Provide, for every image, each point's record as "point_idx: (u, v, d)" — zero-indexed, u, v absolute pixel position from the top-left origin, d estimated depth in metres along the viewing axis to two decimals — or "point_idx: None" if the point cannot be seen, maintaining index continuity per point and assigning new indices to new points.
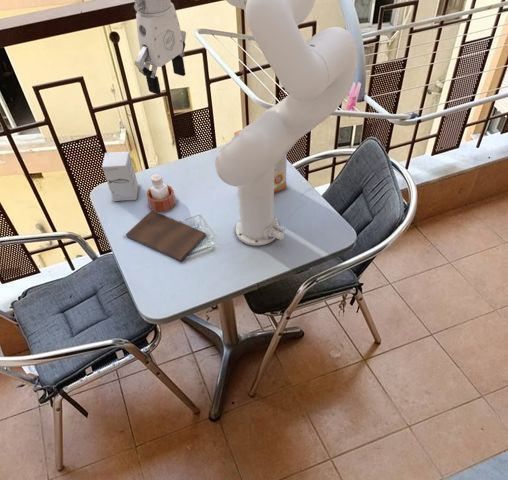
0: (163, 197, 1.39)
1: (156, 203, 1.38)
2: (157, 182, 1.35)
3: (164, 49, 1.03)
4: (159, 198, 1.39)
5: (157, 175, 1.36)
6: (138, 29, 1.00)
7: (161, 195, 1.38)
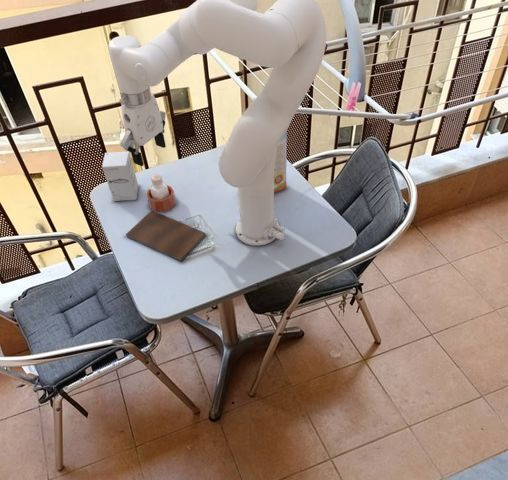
0: (163, 197, 1.39)
1: (156, 203, 1.38)
2: (157, 182, 1.35)
3: (146, 131, 1.20)
4: (159, 198, 1.39)
5: (157, 175, 1.36)
6: (123, 116, 1.17)
7: (161, 195, 1.38)
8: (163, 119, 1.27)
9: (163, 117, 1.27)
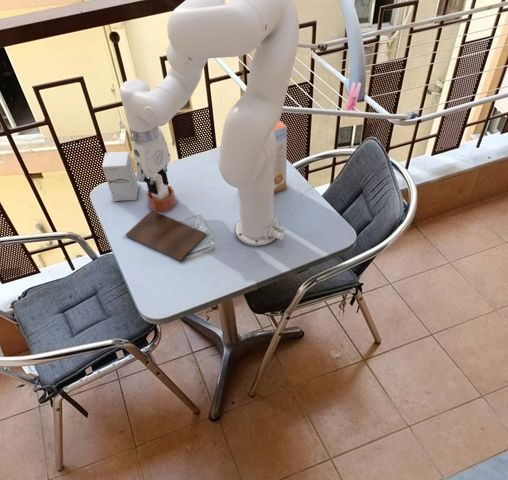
0: (163, 197, 1.39)
1: (156, 203, 1.38)
2: (157, 182, 1.35)
3: (154, 164, 1.28)
4: (159, 198, 1.39)
5: (157, 175, 1.36)
6: (133, 151, 1.25)
7: (161, 195, 1.38)
8: None
9: None
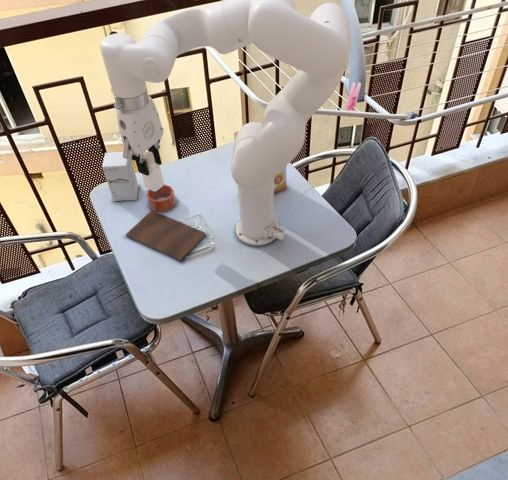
0: (155, 179, 1.20)
1: (156, 203, 1.38)
2: (148, 161, 1.16)
3: (144, 139, 1.09)
4: (150, 180, 1.20)
5: (148, 153, 1.17)
6: (119, 123, 1.06)
7: (153, 176, 1.19)
8: None
9: None
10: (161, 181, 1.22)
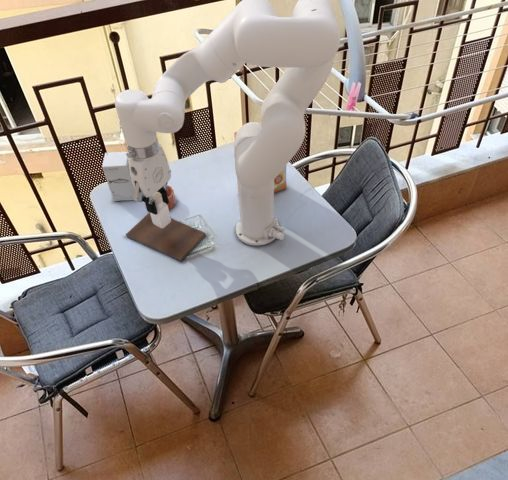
0: (163, 217, 1.27)
1: None
2: (156, 201, 1.23)
3: (153, 183, 1.16)
4: (158, 218, 1.26)
5: (156, 193, 1.23)
6: (130, 169, 1.13)
7: (161, 215, 1.26)
8: None
9: None
10: (168, 218, 1.29)
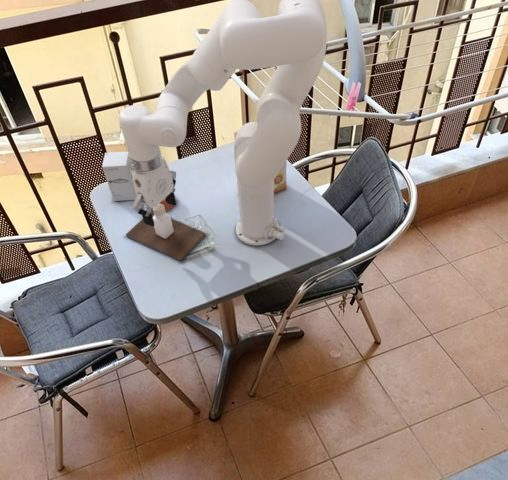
0: (166, 228, 1.30)
1: None
2: (159, 213, 1.26)
3: (157, 194, 1.19)
4: (161, 229, 1.29)
5: (159, 205, 1.26)
6: (134, 181, 1.15)
7: (164, 226, 1.29)
8: (174, 178, 1.26)
9: (174, 176, 1.25)
10: (171, 229, 1.32)
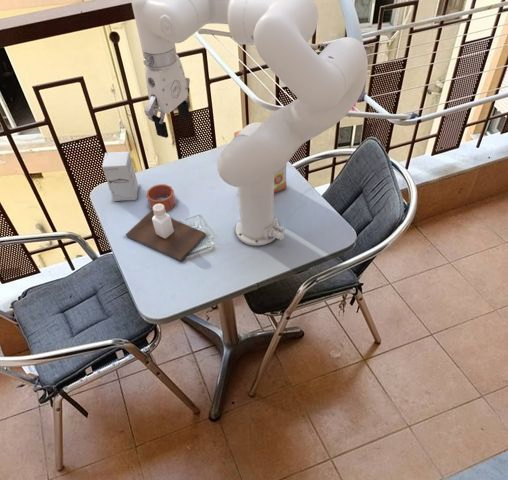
0: (166, 228, 1.30)
1: (156, 203, 1.38)
2: (159, 213, 1.26)
3: (171, 97, 1.10)
4: (161, 229, 1.29)
5: (159, 205, 1.26)
6: (147, 81, 1.07)
7: (164, 226, 1.29)
8: (187, 86, 1.17)
9: (187, 84, 1.17)
10: (171, 229, 1.32)
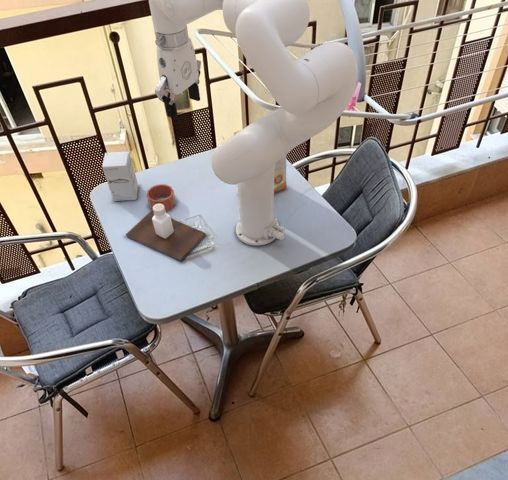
0: (166, 228, 1.30)
1: (156, 203, 1.38)
2: (159, 213, 1.26)
3: (182, 78, 1.12)
4: (161, 229, 1.29)
5: (159, 205, 1.26)
6: (158, 61, 1.08)
7: (164, 226, 1.29)
8: (198, 69, 1.19)
9: (198, 66, 1.18)
10: (171, 229, 1.32)
